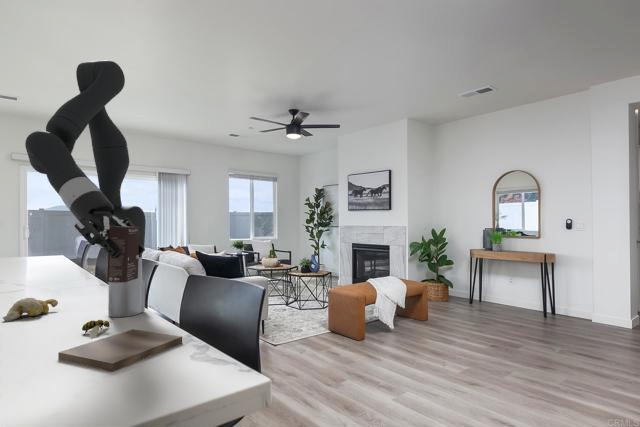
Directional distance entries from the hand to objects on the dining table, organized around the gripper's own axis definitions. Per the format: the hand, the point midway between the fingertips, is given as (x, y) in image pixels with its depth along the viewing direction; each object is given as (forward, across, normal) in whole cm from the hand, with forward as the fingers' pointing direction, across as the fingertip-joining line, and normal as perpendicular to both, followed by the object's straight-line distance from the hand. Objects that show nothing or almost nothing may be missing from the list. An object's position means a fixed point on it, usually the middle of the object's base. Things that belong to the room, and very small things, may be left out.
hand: (130, 254), depth 83 cm
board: (+14, 0, +16) cm, 21 cm away
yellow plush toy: (-22, +21, +53) cm, 61 cm away
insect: (+2, +10, +28) cm, 30 cm away
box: (+3, 0, +6) cm, 6 cm away
